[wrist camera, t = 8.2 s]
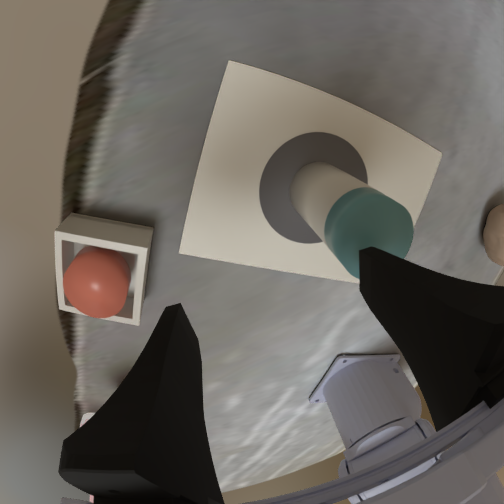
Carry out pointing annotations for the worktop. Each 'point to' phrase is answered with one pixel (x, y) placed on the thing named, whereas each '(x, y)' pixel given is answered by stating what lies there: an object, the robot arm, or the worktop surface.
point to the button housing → (111, 237)
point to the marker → (349, 214)
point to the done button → (97, 282)
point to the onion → (495, 235)
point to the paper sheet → (290, 170)
